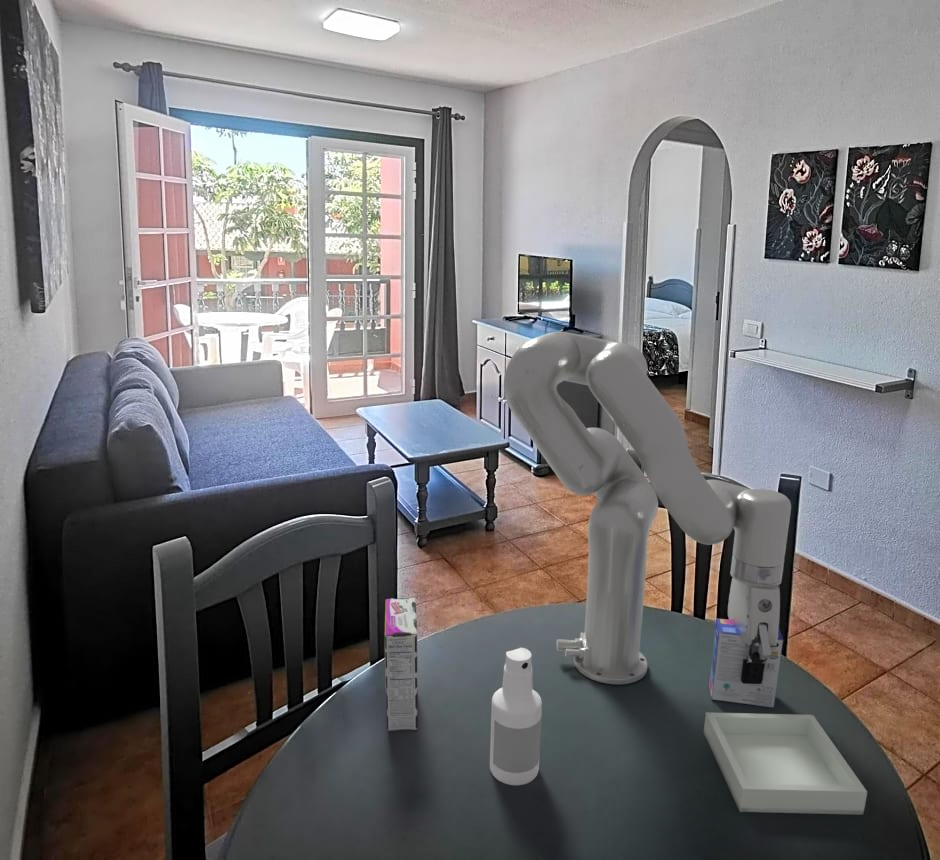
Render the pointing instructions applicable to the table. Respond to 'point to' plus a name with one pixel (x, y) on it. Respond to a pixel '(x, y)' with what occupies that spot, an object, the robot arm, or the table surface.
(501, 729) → the spray bottle
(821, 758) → the tray
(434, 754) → the table surface
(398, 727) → the candy bar box
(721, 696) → the ink cartridge box
